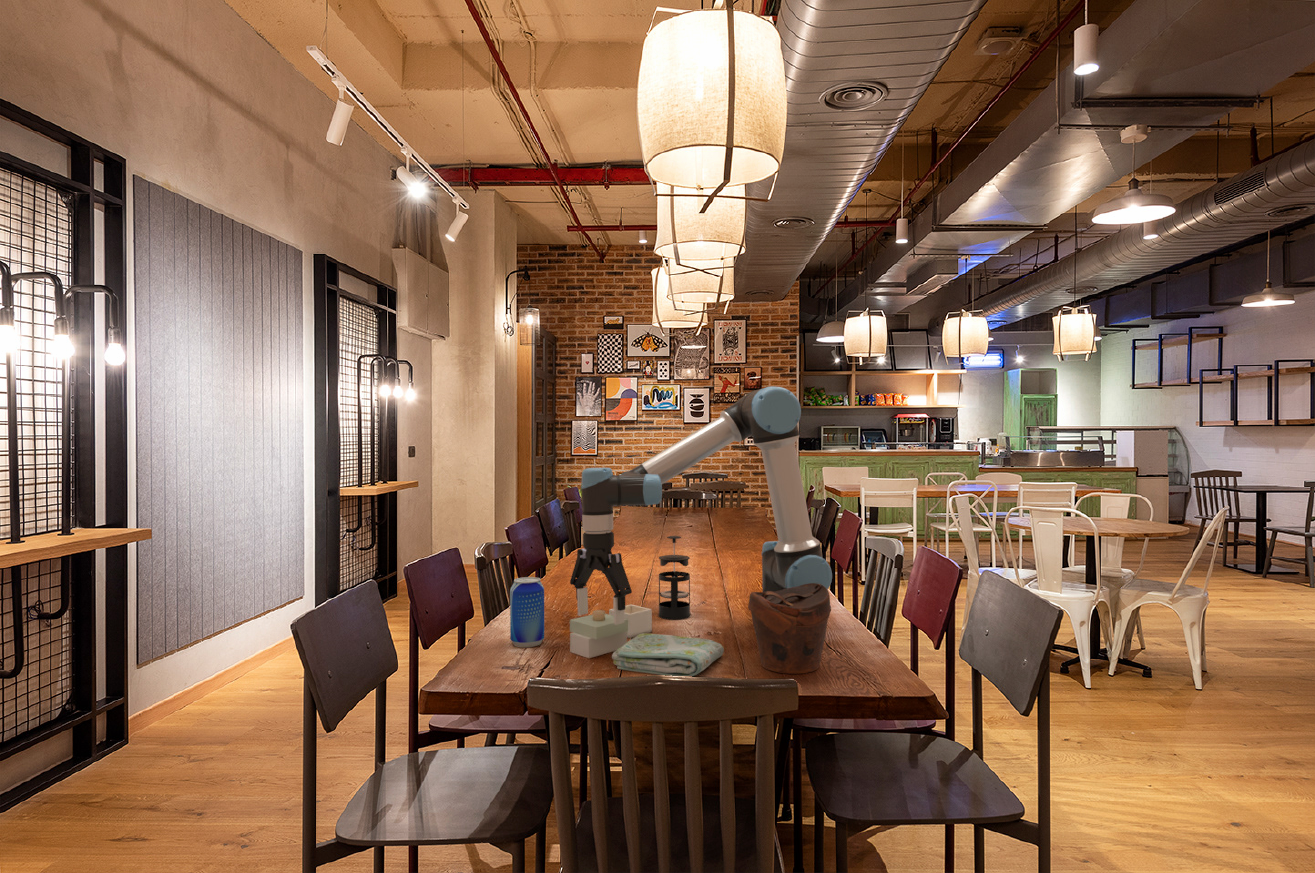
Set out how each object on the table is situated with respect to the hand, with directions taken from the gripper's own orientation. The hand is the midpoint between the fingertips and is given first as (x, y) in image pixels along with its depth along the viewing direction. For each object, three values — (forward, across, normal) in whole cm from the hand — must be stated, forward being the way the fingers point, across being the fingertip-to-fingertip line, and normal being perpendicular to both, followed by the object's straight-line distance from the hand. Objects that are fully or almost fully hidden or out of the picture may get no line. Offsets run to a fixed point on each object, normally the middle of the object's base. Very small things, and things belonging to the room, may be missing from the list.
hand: (600, 618), depth 173 cm
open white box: (+8, +6, -16) cm, 18 cm away
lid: (+3, 0, 0) cm, 3 cm away
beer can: (+7, +17, +10) cm, 21 cm away
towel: (+8, -18, -4) cm, 21 cm away
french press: (+8, +10, -36) cm, 39 cm away
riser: (+7, 0, 0) cm, 7 cm away
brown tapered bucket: (+9, -40, -22) cm, 46 cm away
